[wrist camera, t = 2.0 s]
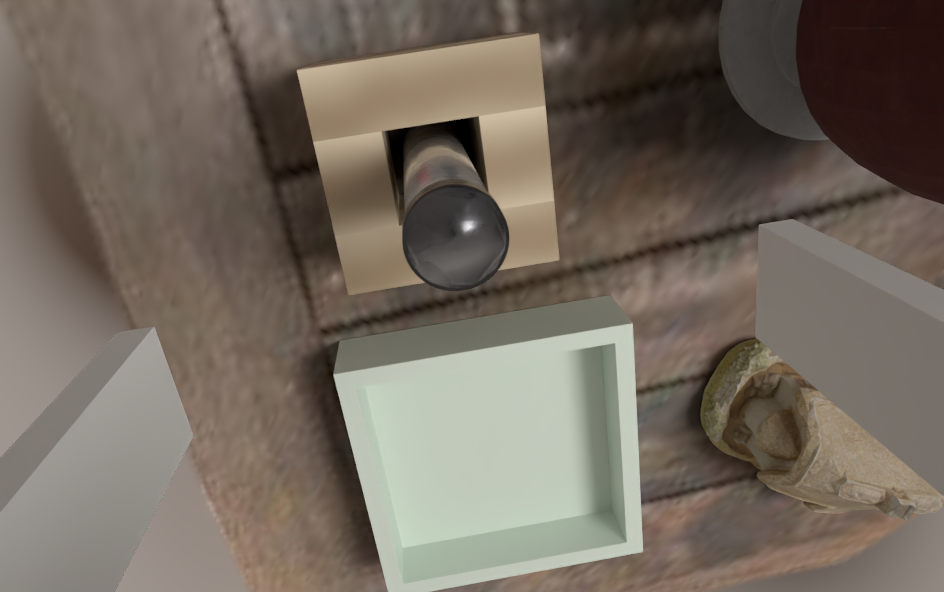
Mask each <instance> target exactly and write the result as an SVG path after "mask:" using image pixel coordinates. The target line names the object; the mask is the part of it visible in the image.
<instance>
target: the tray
mask: <svg viewBox="0 0 944 592" xmlns="http://www.w3.org/2000/svg"><path fill="white" fill-rule="evenodd" d="M333 376H334V380H335V383H336V387H337V391H338V395H339V399H340V403H341V407H342V411H343V415H344V419H345V423H346V427H347V431H348V435H349V439H350V443H351V447H352V451H353V455H354V459H355V463H356V466H357V470H358V474H359V478H360V482H361V486H362V490H363V494H364V498H365V502H366V506H367V510H368V514H369V518H370V522H371V526H372V530H373V534H374V538H375V542H376V545H377V549H378V553H379V557H380V561H381V565H382V569H383V573H384V577H385V581H386V585H387V589H388V592H430V591H435V590H441V589H446V588H451V587H457V586H462V585H467V584H473V583H478V582H484V581H489V580H494V579H500V578H505V577H510V576H516V575H521V574H527V573H532V572H537V571H543V570H548V569H553V568H559V567H564V566H570V565H575V564H580V563H586V562H591V561H596V560H602V559H607V558H613V557H618V556H623V555H629V554H634V553H639V552H643V540H642V518H641V496H640V474H639V452H638V430H637V408H636V386H635V364H634V342H633V323H632V322H631V321H630V319H629V318H628V317H627V316H626V314H625V313H624V312H623V310H622V309H621V308H620V307H619V305H618V304H617V303H616V302H615V300H614V299H613V298H612V296H611V295H607V296H601V297H595V298H589V299H583V300H578V301H572V302H566V303H560V304H554V305H548V306H542V307H536V308H530V309H524V310H518V311H512V312H507V313H501V314H495V315H489V316H483V317H477V318H471V319H465V320H459V321H453V322H447V323H441V324H436V325H430V326H424V327H418V328H412V329H406V330H400V331H394V332H388V333H382V334H376V335H370V336H365V337H359V338H353V339H347V340H341V341H340V342H339V347H338V352H337V357H336V363H335V368H334V373H333Z"/></svg>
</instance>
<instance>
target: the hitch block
mask: <svg viewBox="0 0 944 592" xmlns="http://www.w3.org/2000/svg"><path fill="white" fill-rule="evenodd" d="M297 74H298V78H299V82H300V87H301V91H302V95H303V100H304V104H305V108H306V113H307V117H308V121H309V126H310V130H311V134H312V139H313V143H314V147H315V152H316V156H317V160H318V165H319V169H320V174H321V178H322V182H323V187H324V191H325V195H326V200H327V204H328V208H329V213H330V217H331V221H332V226H333V230H334V234H335V239H336V243H337V247H338V252H339V256H340V260H341V265H342V269H343V273H344V278H345V282H346V287H347V291H348V295H353V294H359V293H365V292H371V291H377V290H383V289H389V288H395V287H401V286H407V285H413V284H419V283H425V282H424V281H423V280H421V279H420V278H419V277H418V276H417V275H416V274H415V273H414V272H413V271H412V269H411V268H410V266H409V264H408V263H407V260H406V258H405V255H404V251H403V245H402V223H403V218H404V214H405V203H404V194H399V191H398V186H397V180H396V175H395V169H394V164H393V158H392V153H391V148H390V142H389V137H388V131H387V130H394V129H400V128H406V127H413V126H419V125H426V124H432V123H438V122H445V121H451V120H458V119H464V118H468V122H469V129H470V137H471V144H472V151H473V159H474V166H475V170H476V172H477V173H478V175H479V177H480V179H481V181H482V183H483V185H484V187H485V188H486V190H487V192H488V193H489V194H490V195H491V196H492V197H493V198H494V199H495V201H496V202H497V204H498V206H499V208H500V209H501V211H502V213H503V215H504V217H505V219H506V222H507V225H508V229H509V248H508V252H507V255H506V258H505V260H504V262H503V264H502V265H501V267H500V268H499V270H503V269H509V268H515V267H521V266H527V265H533V264H539V263H546V262H552V261H558V260H559V250H558V239H557V228H556V217H555V206H554V195H553V183H552V172H551V161H550V150H549V139H548V128H547V117H546V106H545V95H544V84H543V73H542V62H541V51H540V40H539V34H537V33H516V32H515V33H508V34H502V35H495V36H488V37H482V38H475V39H469V40H462V41H455V42H449V43H442V44H435V45H429V46H422V47H416V48H409V49H402V50H396V51H389V52H383V53H376V54H369V55H363V56H356V57H349V58H343V59H336V60H330V61H323V62H316V63H313V64H310V65H308V66H306V67H303V68H301V69H299V70H297Z"/></svg>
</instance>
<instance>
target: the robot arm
mask: <svg viewBox="0 0 944 592" xmlns="http://www.w3.org/2000/svg"><path fill="white" fill-rule="evenodd" d="M755 337H756V338H757V339H758V340H759V341H761V342H762V343H763V344H764V345H765V346H767V347H768V348H769V349H770V350H771V351H772V352H774V353H775V354H776V355H777V356H778V357H780V358H781V359H782V360H783V361H784V362H785V363H787V364H788V365H789V366H790V367H791V368H793V369H794V370H795V371H796V372H797V373H798V374H800V375H801V376H802V377H803V378H804V379H806V380H807V381H808V382H809V383H810V384H811V385H813V386H814V387H815V388H816V389H817V390H819V391H820V392H821V393H822V394H823V395H824V396H826V397H827V398H828V399H829V400H830V401H832V402H833V403H834V404H835V405H836V406H837V407H839V408H840V409H841V410H842V411H843V412H845V413H846V414H847V415H848V416H849V417H850V418H852V419H853V420H854V421H855V422H856V423H858V424H859V425H860V426H861V427H862V428H863V429H865V430H866V431H867V432H868V433H869V434H871V435H872V436H873V437H874V438H875V439H876V440H878V441H879V442H880V443H881V444H882V445H884V446H885V447H886V448H887V449H888V450H889V451H891V452H892V453H893V454H894V455H895V456H897V457H898V458H899V459H900V460H901V461H902V462H904V463H905V464H906V465H907V466H908V467H910V468H911V469H912V470H913V471H914V472H915V473H917V474H918V475H919V476H920V477H921V478H923V479H924V480H925V481H926V482H927V483H928V484H930V485H931V486H932V487H933V488H934V489H936V490H937V491H938V492H939V493H940V494H941V495H943V496H944V290H943V289H941V288H938V287H936V286H934V285H932V284H930V283H928V282H926V281H924V280H921V279H919V278H917V277H915V276H913V275H911V274H909V273H906V272H904V271H902V270H900V269H898V268H896V267H894V266H892V265H889V264H887V263H885V262H883V261H881V260H879V259H877V258H875V257H872V256H870V255H868V254H866V253H864V252H862V251H860V250H857V249H855V248H853V247H851V246H849V245H847V244H845V243H843V242H840V241H838V240H836V239H834V238H832V237H830V236H828V235H825V234H823V233H821V232H819V231H817V230H815V229H813V228H811V227H808V226H806V225H804V224H802V223H800V222H798V221H796V220H794V219H790V220H784V221H778V222H772V223H766V224H760V225H759V237H758V268H757V300H756V331H755ZM192 438H193V433H192V430H191V428H190V425H189V422H188V419H187V417H186V414H185V411H184V408H183V405H182V403H181V400H180V397H179V394H178V392H177V389H176V386H175V383H174V380H173V378H172V375H171V372H170V369H169V367H168V364H167V361H166V358H165V355H164V353H163V350H162V347H161V344H160V342H159V339H158V336H157V333H156V330H155V328H154V327H148V328H142V329H136V330H130V331H124V332H118V333H116V334H115V335H114V336H113V338H112V339H111V340H110V341H109V342H108V343H107V344H106V345H105V346H104V347H103V348H102V350H100V352H99V353H98V354H97V355H96V356H95V357H94V358H93V359H92V360H91V361H90V362H89V363H88V364H87V365H86V366H85V368H84V369H83V370H82V371H81V372H80V373H79V374H78V375H77V376H76V377H75V378H74V379H73V380H72V381H71V383H70V384H69V385H68V386H67V387H66V388H65V389H64V390H63V391H62V392H61V393H60V394H59V395H58V397H57V398H56V399H55V400H54V401H53V402H52V403H51V404H50V405H49V406H48V407H47V408H46V410H44V412H43V413H42V414H41V415H40V416H39V417H38V418H37V419H36V420H35V421H34V422H33V423H32V424H31V426H30V427H29V428H28V429H27V430H26V431H25V432H24V433H23V434H22V435H21V436H20V437H19V438H18V439H17V440H16V442H15V443H14V444H13V445H12V446H11V447H10V448H9V449H8V450H7V451H6V452H5V453H4V455H2V457H1V458H0V592H115V591H116V589H117V587H118V585H119V583H120V581H121V579H122V577H123V575H124V573H125V571H126V569H127V567H128V565H129V563H130V561H131V559H132V557H133V555H134V553H135V551H136V549H137V547H138V545H139V543H140V541H141V539H142V537H143V535H144V533H145V531H146V529H147V527H148V525H149V523H150V521H151V519H152V517H153V515H154V514H155V511H156V509H157V507H158V506H159V504H160V502H161V500H162V498H163V496H164V493H165V492H166V490H167V488H168V486H169V484H170V482H171V480H172V478H173V476H174V474H175V472H176V470H177V468H178V466H179V464H180V462H181V460H182V458H183V456H184V454H185V452H186V450H187V448H188V446H189V444H190V442H191V440H192Z"/></svg>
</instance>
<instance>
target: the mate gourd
mask: <svg viewBox="0 0 944 592" xmlns="http://www.w3.org/2000/svg"><path fill="white" fill-rule="evenodd" d="M718 37H719V55H720V60H721V65H722V70H723V75H724V77H725V79H726V82H727V84H728V86H729V89H730V91H731V93H732V95H733V97H734V98H735V99H736V101H737V102H738V104H739V105H740V106H741V108H742V109H743V110H744V112H746V113H747V114H748V115H749V116H750V117H751V118H752V119H754V120H755V121H756V122H757V123H758V124H759V125H761V126H763V127H765V128H767V129H769V130H771V131H773V132H775V133H777V134H781V135H784V136H788V137H792V138H796V139H800V140H829V139H830V140H831V141H832V142H833V143H835V144H836V145H837V146H838V147H839V148H840V149H841V150H842V151H843V152H845V153H846V154H847V155H848V156H849V157H850V158H852V159H853V160H854V161H855V162H856V163H857V164H859V165H861V166H862V167H864V168H866V169H868V170H869V171H871V172H873V173H874V174H876V175H878V176H880V177H881V178H883V179H885V180H887V181H888V182H890V183H892V184H894V185H896V186H898V187H900V188H902V189H904V190H906V191H908V192H909V193H911V194H913V195H917V196H920V197H923V198H926V199H929V200H932V201H935V202H938V203H941V204H944V0H723V1H722V7H721V13H720V19H719V26H718Z"/></svg>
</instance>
